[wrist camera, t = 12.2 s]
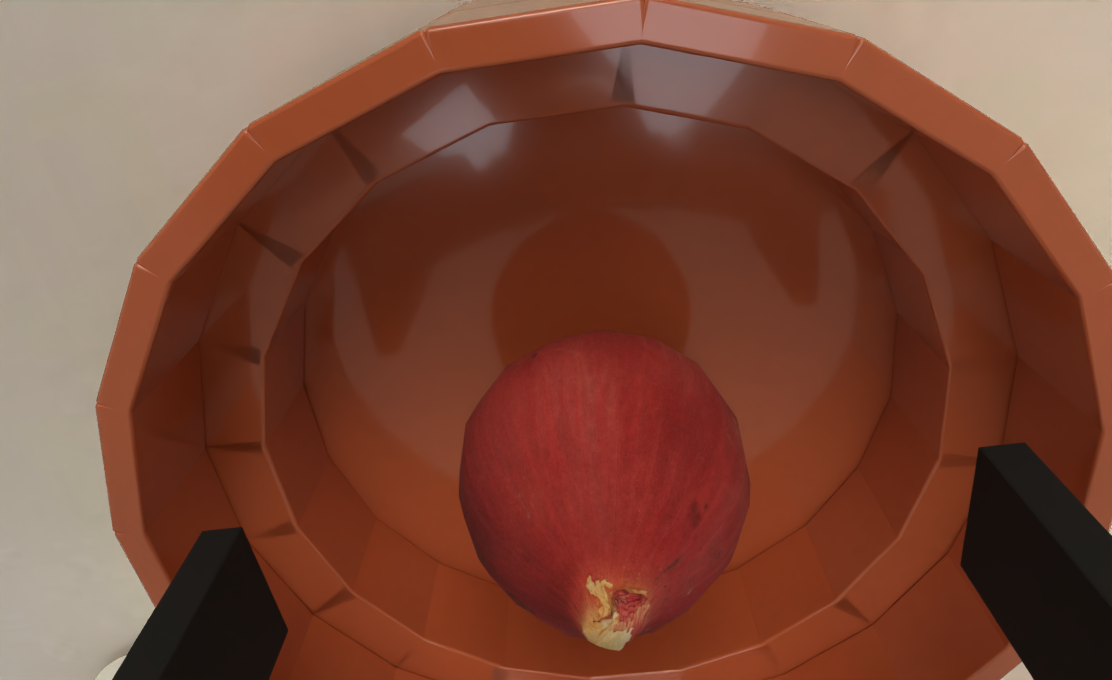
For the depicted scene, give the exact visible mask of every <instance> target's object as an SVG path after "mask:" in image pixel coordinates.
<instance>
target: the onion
mask: <svg viewBox="0 0 1112 680" xmlns="http://www.w3.org/2000/svg"><path fill="white" fill-rule="evenodd" d="M750 484H751V482H750V477H749V473H748V468H747V463H746V459H745V454H744V449H743V444H742V440H741V435H740V430H739V425H738V421H737V417H736V416H735V415H734V413H733V412H732V410H731V409H730V407H729V406H728V404H727V403H726V402H725V400H724V399H723V397H722V396H721V395H720V393H719V392H718V390H717V389H716V388H715V386H714V385H713V384H712V382H711V381H710V379H709V378H708V377H707V375H706V374H705V373H704V371H703V370H702V368H701V367H700V366H699V364H698V363H696V362H695V361H693V360H691V359H690V358H688V357H686V356H684V355H683V354H681V353H679V352H678V351H676V350H674V349H672V348H671V347H669V346H667V345H665V344H664V343H662V342H660V341H659V340H657V339H654V338H649V337H644V336H639V335H633V334H627V333H621V332H615V331H610V330H604V329H601V330H597V331H592V332H587V333H583V334H578V335H573V336H569V337H564V338H559V339H557V340H554V341H551V342H549V343H547V344H545V345H543V346H541V347H540V348H538V349H536V350H534V351H532V352H531V353H529V354H527V355H525V356H523V357H522V358H520V359H518V360H516V361H514V362H513V363H511V364H509V365H507V366H506V367H505V369H504V370H503V371H502V372H501V374H500V375H499V376H498V378H497V379H496V380H495V382H494V383H493V384H492V386H491V387H490V388H489V390H488V391H487V392H486V394H485V395H484V396H483V398H482V399H481V400H480V401H479V403H478V405H477V406H476V408H475V409H474V411H473V413H472V414H471V416H470V418H469V419H468V421H467V422H466V425H465V433H464V441H463V449H462V457H461V464H460V475H459V499H460V503H461V507H462V512H463V516H464V519H465V522H466V525H467V528H468V530H469V533H470V536H471V539H472V542H473V545H474V547H475V550H476V553H477V556H478V559H479V560H480V562H481V563H482V565H483V566H484V568H485V569H486V571H487V572H488V574H489V575H490V576H491V577H492V578H493V579H494V580H495V581H496V583H497V584H498V585H499V586H500V587H501V588H502V589H503V590H504V591H505V592H506V593H507V595H508V596H509V597H510V598H511V599H512V600H513V601H514V602H515V603H516V604H517V605H519V606H520V607H522V608H523V609H525V610H527V611H528V612H530V613H531V614H533V615H534V616H535V617H536V618H537V619H539V620H540V621H542V622H544V623H546V624H548V625H549V626H551V627H553V628H555V629H557V630H558V631H560V632H562V633H564V634H565V635H567V636H569V637H576V638H584V639H587V640H588V641H589V642H591V643H593V644H595V645H597V646H599V647H602V648H606V649H611V650H617V651H620V650H621V649H622V648H624V647H625V646H626V645H628V644H629V643H630V642H632V640H633V639H634V638H635V637H636V636H640V635H644V634H648V633H653V632H655V631H656V630H658V629H660V628H661V627H663V626H664V625H666V624H668V623H669V622H671V621H672V620H674V619H676V618H677V617H679V616H680V615H682V614H684V613H685V612H687V611H688V610H689V609H690V608H691V607H692V606H693V605H694V603H695V602H696V601H697V600H698V599H699V598H700V597H701V596H702V595H703V594H704V592H705V591H706V590H707V589H708V588H709V587H710V586H711V585H712V584H713V583H714V582H715V580H716V579H717V578H718V577H719V576H720V575H721V574H722V573H723V571H724V570H725V568H726V567H727V565H728V564H729V563H730V561H731V560H732V557H733V554H734V552H735V549H736V546H737V543H738V540H739V537H740V534H741V531H742V527H743V524H744V521H745V518H746V514H747V511H748V508H749V505H750Z"/></svg>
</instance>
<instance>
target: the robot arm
mask: <svg viewBox="0 0 1112 680" xmlns="http://www.w3.org/2000/svg"><path fill="white" fill-rule="evenodd" d="M960 566H961V567H962V569H963V570H964V572H965V573H966V575H967V577H968V578H969V580H970V581H971V583H972V584H973V586H974V587H975V589H976V591H977V592H978V594H979V595H980V597H981V598H982V600H983V601H984V603H985V605H986V606H987V608H988V609H989V611H990V612H991V614H992V616H993V617H994V619H995V620H996V622H997V623H998V625H999V626H1000V628H1001V630H1002V631H1003V633H1004V634H1005V636H1006V637H1007V639H1008V640H1009V642H1010V644H1011V645H1012V647H1013V648H1014V650H1015V651H1016V653H1017V654H1018V656H1019V658H1020V659H1021V661H1022V662H1023V664H1024V665H1025V667H1026V669H1027V670H1028V672H1029V673H1030V675H1031V676H1032V678H1033V679H1034V680H1112V536H1111V534H1110V533H1109V532H1108V531H1107V530H1106V529H1105V528H1104V527H1103V526H1102V525H1101V524H1100V523H1099V522H1098V520H1097V519H1096V518H1095V517H1094V516H1093V515H1092V514H1091V513H1090V512H1089V511H1088V510H1087V509H1086V508H1085V506H1084V505H1083V504H1082V503H1081V502H1080V501H1079V500H1078V499H1077V498H1076V497H1075V496H1074V495H1073V494H1072V492H1071V491H1070V490H1069V489H1068V488H1067V487H1066V486H1065V485H1064V484H1063V483H1062V482H1061V481H1060V480H1059V478H1058V477H1057V476H1056V475H1055V474H1054V473H1053V472H1052V471H1051V470H1050V469H1049V468H1048V467H1047V466H1046V464H1045V463H1044V462H1043V461H1042V460H1041V459H1040V458H1039V457H1038V456H1037V455H1036V454H1035V453H1034V452H1033V450H1032V449H1031V448H1030V447H1029V446H1028V445H1027V444H1026V443H1025V442H1023V443H1014V444H1005V445H996V446H986V447H979V448H978V454H977V461H976V467H975V473H974V480H973V486H972V493H971V499H970V505H969V512H968V518H967V524H966V531H965V537H964V544H963V550H962V556H961V563H960ZM287 633H288V628H287V625H286V623H285V621H284V619H283V617H282V614H281V612H280V610H279V608H278V605H277V603H276V601H275V599H274V597H273V594H272V592H271V590H270V588H269V585H268V583H267V581H266V579H265V577H264V574H263V572H262V570H261V568H260V565H259V563H258V561H257V559H256V556H255V554H254V552H253V550H252V548H251V545H250V543H249V541H248V539H247V536H246V534H245V532H244V530H243V528H242V527H235V528H226V529H216V530H207V531H202V532H201V534H200V536H199V537H198V539H197V541H196V542H195V544H194V545H193V547H192V549H191V550H190V552H189V554H188V555H187V557H186V559H185V560H184V562H183V564H182V565H181V567H180V568H179V570H178V572H177V573H176V575H175V577H174V578H173V580H172V582H171V583H170V585H169V587H168V588H167V590H166V591H165V593H164V595H163V596H162V598H161V600H160V601H159V603H158V605H157V606H156V608H155V610H154V611H153V613H152V615H151V616H150V618H149V619H148V621H147V623H146V624H145V626H144V628H143V629H142V631H141V633H140V634H139V636H138V638H137V639H136V641H135V642H134V644H133V646H132V647H131V649H130V651H129V652H128V654H127V656H126V657H125V659H124V661H123V662H122V664H121V665H120V667H119V669H118V670H117V672H116V674H115V675H114V677H113V679H112V680H269V679H270V676H271V673H272V671H273V668H274V666H275V663H276V661H277V658H278V656H279V653H280V651H281V648H282V646H283V643H284V641H285V638H286V636H287Z"/></svg>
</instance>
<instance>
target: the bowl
mask: <svg viewBox="0 0 1112 680" xmlns="http://www.w3.org/2000/svg"><path fill="white" fill-rule="evenodd" d="M601 329H604V330H610V331H615V332H621V333H627V334H633V335H639V336H644V337H649V338H654V339H657V340H659V341H660V342H662V343H664V344H665V345H667V346H669V347H671V348H672V349H674V350H676V351H678V352H679V353H681V354H683V355H684V356H686V357H688V358H690V359H691V360H693V361H695V362H696V363H698V364H699V366H700V367H701V368H702V370H703V371H704V373H705V374H706V375H707V377H708V378H709V379H710V381H711V382H712V384H713V385H714V386H715V388H716V389H717V390H718V392H719V393H720V395H721V396H722V397H723V399H724V400H725V402H726V403H727V404H728V406H729V407H730V409H731V410H732V412H733V413H734V415H735V416H736V417H737V421H738V425H739V430H740V435H741V440H742V444H743V449H744V454H745V459H746V463H747V468H748V473H749V477H750V482H751V484H750V505H749V508H748V511H747V514H746V518H745V521H744V524H743V527H742V531H741V534H740V537H739V540H738V543H737V546H736V549H735V552H734V554H733V557H732V560H731V561H730V563H729V564H728V565H727V567H726V568H725V570H724V571H723V573H722V574H721V575H720V576H719V577H718V578H717V579H716V580H715V582H714V583H713V584H712V585H711V586H710V587H709V588H708V589H707V590H706V591H705V592H704V594H703V595H702V596H701V597H700V598H699V599H698V600H697V601H696V602H695V603H694V605H693V606H692V607H691V608H690V609H689V610H688V611H687V612H685V613H684V614H682V615H680V616H679V617H677V618H676V619H674V620H672V621H671V622H669V623H668V624H666V625H664V626H663V627H661V628H660V629H658V630H656V631H655V632H653V633H648V634H644V635H640V636H636V637H635V638H634V639H633V640H632V642H630V643H629V644H628V645H626V646H625V647H624V648H622V649H621V650H620V651H617V650H611V649H606V648H602V647H599V646H597V645H595V644H593V643H591V642H589V641H588V640H587V639H584V638H576V637H569V636H567V635H565V634H564V633H562V632H560V631H558V630H557V629H555V628H553V627H551V626H549V625H548V624H546V623H544V622H542V621H540V620H539V619H537V618H536V617H535V616H534V615H533V614H531V613H530V612H528V611H527V610H525V609H523V608H522V607H520V606H519V605H517V604H516V603H515V602H514V601H513V600H512V599H511V598H510V597H509V596H508V595H507V593H506V592H505V591H504V590H503V589H502V588H501V587H500V586H499V585H498V584H497V583H496V581H495V580H494V579H493V578H492V577H491V576H490V575H489V574H488V572H487V571H486V569H485V568H484V566H483V565H482V563H481V562H480V560H479V559H478V556H477V553H476V550H475V547H474V545H473V542H472V539H471V536H470V533H469V530H468V528H467V525H466V522H465V519H464V516H463V512H462V507H461V503H460V499H459V475H460V464H461V457H462V449H463V441H464V433H465V425H466V422H467V421H468V419H469V418H470V416H471V414H472V413H473V411H474V409H475V408H476V406H477V405H478V403H479V401H480V400H481V399H482V398H483V396H484V395H485V394H486V392H487V391H488V390H489V388H490V387H491V386H492V384H493V383H494V382H495V380H496V379H497V378H498V376H499V375H500V374H501V372H502V371H503V370H504V369H505V367H506V366H507V365H509V364H511V363H513V362H514V361H516V360H518V359H520V358H522V357H523V356H525V355H527V354H529V353H531V352H532V351H534V350H536V349H538V348H540V347H541V346H543V345H545V344H547V343H549V342H551V341H554V340H557V339H559V338H564V337H569V336H573V335H578V334H583V333H587V332H592V331H597V330H601ZM96 401H97V404H96V413H97V421H98V428H99V435H100V442H101V449H102V456H103V463H104V470H105V477H106V485H107V492H108V499H109V506H110V513H111V520H112V527H113V531H114V532H115V536H116V538H117V539H118V541H119V543H120V545H121V547H122V548H123V550H124V552H125V554H126V556H127V557H128V559H129V561H130V563H131V565H132V566H133V568H134V570H135V572H136V574H137V575H138V577H139V579H140V581H141V583H142V585H143V586H144V588H145V590H146V592H147V594H148V595H149V597H150V599H151V601H152V603H153V604H154V606H155V608H156V606H157V605H158V603H159V601H160V600H161V598H162V596H163V595H164V593H165V591H166V590H167V588H168V587H169V585H170V583H171V582H172V580H173V578H174V577H175V575H176V573H177V572H178V570H179V568H180V567H181V565H182V564H183V562H184V560H185V559H186V557H187V555H188V554H189V552H190V550H191V549H192V547H193V545H194V544H195V542H196V541H197V539H198V537H199V536H200V534H201V532H202V531H207V530H216V529H226V528H235V527H242V528H243V530H244V532H245V534H246V536H247V539H248V541H249V543H250V545H251V548H252V550H253V552H254V554H255V556H256V559H257V561H258V563H259V565H260V568H261V570H262V572H263V574H264V577H265V579H266V581H267V583H268V585H269V588H270V590H271V592H272V594H273V597H274V599H275V601H276V603H277V605H278V608H279V610H280V612H281V614H282V617H283V619H284V621H285V623H286V625H287V628H288V633H287V636H286V638H285V641H284V643H283V646H282V648H281V651H280V653H279V656H278V658H277V661H276V663H275V666H274V668H273V671H272V673H271V676H270V679H269V680H1001V679H1002V678H1003V677H1004V676H1006V675H1007V674H1008V673H1009V672H1010V671H1012V670H1013V669H1014V668H1015V667H1017V666H1018V665H1019V664H1020V663H1021V662H1022V661H1021V659H1020V658H1019V656H1018V654H1017V653H1016V651H1015V650H1014V648H1013V647H1012V645H1011V644H1010V642H1009V640H1008V639H1007V637H1006V636H1005V634H1004V633H1003V631H1002V630H1001V628H1000V626H999V625H998V623H997V622H996V620H995V619H994V617H993V616H992V614H991V612H990V611H989V609H988V608H987V606H986V605H985V603H984V601H983V600H982V598H981V597H980V595H979V594H978V592H977V591H976V589H975V587H974V586H973V584H972V583H971V581H970V580H969V578H968V577H967V575H966V573H965V572H964V570H963V569H962V567H961V566H960V563H961V556H962V550H963V544H964V537H965V531H966V524H967V518H968V512H969V505H970V499H971V493H972V486H973V480H974V473H975V467H976V461H977V454H978V448H979V447H986V446H996V445H1005V444H1014V443H1023V442H1025V443H1026V444H1027V445H1028V446H1029V447H1030V448H1031V449H1032V450H1033V452H1034V453H1035V454H1036V455H1037V456H1038V457H1039V458H1040V459H1041V460H1042V461H1043V462H1044V463H1045V464H1046V466H1047V467H1048V468H1049V469H1050V470H1051V471H1052V472H1053V473H1054V474H1055V475H1056V476H1057V477H1058V478H1059V480H1060V481H1061V482H1062V483H1063V484H1064V485H1065V486H1066V487H1067V488H1068V489H1069V490H1070V491H1071V492H1072V494H1073V495H1074V496H1075V497H1076V498H1077V499H1078V500H1079V501H1080V502H1081V503H1082V504H1083V505H1084V506H1085V508H1086V509H1087V510H1088V511H1089V512H1090V513H1091V514H1092V515H1093V516H1094V517H1095V518H1096V519H1097V520H1098V522H1099V523H1100V524H1101V525H1102V526H1103V527H1104V528H1105V529H1106V530H1107V531H1108V532H1109V531H1110V528H1111V524H1112V269H1111V268H1110V266H1109V265H1108V263H1107V262H1106V260H1105V259H1104V257H1103V256H1102V254H1101V253H1100V251H1099V250H1098V248H1097V247H1096V245H1095V244H1094V242H1093V241H1092V239H1091V238H1090V236H1089V235H1088V233H1087V232H1086V230H1085V229H1084V227H1083V226H1082V224H1081V223H1080V221H1079V220H1078V218H1077V217H1076V215H1075V214H1074V212H1073V211H1072V209H1071V208H1070V207H1069V205H1068V204H1067V202H1066V201H1065V199H1064V198H1063V196H1062V195H1061V193H1060V192H1059V190H1058V189H1057V187H1056V186H1055V184H1054V183H1053V181H1052V180H1051V178H1050V177H1049V175H1048V174H1047V172H1046V171H1045V169H1044V168H1043V166H1042V165H1041V163H1040V162H1039V160H1038V159H1037V157H1036V156H1035V154H1034V153H1033V151H1032V150H1031V148H1030V147H1029V145H1028V144H1027V143H1025V142H1024V141H1023V140H1022V138H1021V137H1019V136H1018V135H1016V134H1015V133H1013V132H1012V131H1010V130H1008V129H1007V128H1005V127H1004V126H1002V125H1000V124H999V123H997V122H996V121H994V120H993V119H991V118H989V117H988V116H986V115H985V114H983V113H982V112H980V111H978V110H977V109H975V108H974V107H972V106H971V105H969V104H967V103H966V102H964V101H963V100H961V99H959V98H958V97H956V96H955V95H953V94H952V93H950V92H948V91H947V90H945V89H944V88H942V87H941V86H939V85H937V84H936V83H934V82H933V81H931V80H929V79H928V78H926V77H925V76H923V75H922V74H920V73H918V72H917V71H915V70H914V69H912V68H911V67H909V66H907V65H906V64H904V63H903V62H901V61H899V60H898V59H896V58H895V57H893V56H892V55H890V54H888V53H887V52H885V51H884V50H882V49H881V48H879V47H877V46H876V45H874V44H873V43H871V42H870V41H868V40H866V39H865V38H862V37H859V36H856V35H854V34H851V33H848V32H845V31H842V30H838V29H835V28H832V27H828V26H825V25H822V24H818V23H815V22H812V21H809V20H805V19H802V18H798V17H795V16H792V15H788V14H785V13H782V12H779V11H775V10H772V9H769V8H765V7H762V6H759V5H754V4H749V3H743V2H738V1H733V0H473V1H471V2H468V3H465V4H463V5H461V6H459V7H457V8H456V9H454V10H452V11H450V12H448V13H447V14H445V15H443V16H441V17H439V18H438V19H436V20H434V21H432V22H430V23H428V24H427V25H425V26H423V27H421V28H419V29H418V30H416V31H414V32H412V33H410V34H409V35H407V36H405V37H403V38H401V39H400V40H398V41H396V42H394V43H392V44H390V45H389V46H387V47H385V48H383V49H381V50H380V51H378V52H376V53H374V54H372V55H371V56H369V57H367V58H365V59H363V60H362V61H360V62H358V63H356V64H354V65H352V66H351V67H349V68H347V69H345V70H343V71H342V72H340V73H338V74H336V75H335V76H333V77H331V78H329V79H328V80H326V81H324V82H322V83H321V84H319V85H317V86H315V87H313V88H312V89H310V90H308V91H307V92H305V93H303V94H301V95H299V96H298V97H296V98H294V99H292V100H291V101H289V102H287V103H285V104H284V105H282V106H280V107H278V108H277V109H275V110H273V111H271V112H269V113H268V114H266V115H264V116H262V117H261V118H259V119H257V120H255V121H254V122H252V123H250V124H249V126H248V127H246V128H245V129H243V130H242V131H241V132H240V133H239V134H238V136H237V137H236V138H235V139H234V141H233V142H232V143H231V144H230V145H229V147H228V148H227V149H226V150H225V152H224V153H223V154H222V155H221V156H220V158H219V159H218V160H217V161H216V163H215V164H214V165H213V166H212V167H211V169H210V170H209V171H208V172H207V174H206V175H205V176H204V177H203V178H202V180H201V181H200V182H199V183H198V185H197V186H196V187H195V188H194V189H193V191H192V192H191V193H190V194H189V196H188V197H187V198H186V199H185V200H184V202H183V203H182V204H181V205H180V207H179V208H178V209H177V210H176V211H175V213H174V214H173V215H172V216H171V218H170V219H169V220H168V221H167V222H166V224H165V225H164V226H163V227H162V229H161V230H160V231H159V232H158V233H157V235H156V236H155V237H154V238H153V240H152V241H151V242H150V243H149V244H148V246H147V247H146V248H145V249H144V251H143V252H142V253H141V254H140V255H139V257H138V259H137V262H136V263H135V264H134V267H133V271H132V274H131V278H130V281H129V285H128V289H127V292H126V296H125V299H124V303H123V306H122V310H121V314H120V317H119V321H118V324H117V328H116V331H115V335H114V339H113V342H112V346H111V349H110V353H109V356H108V360H107V364H106V367H105V371H104V374H103V378H102V382H101V385H100V389H99V392H98V396H97V400H96Z"/></svg>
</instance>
